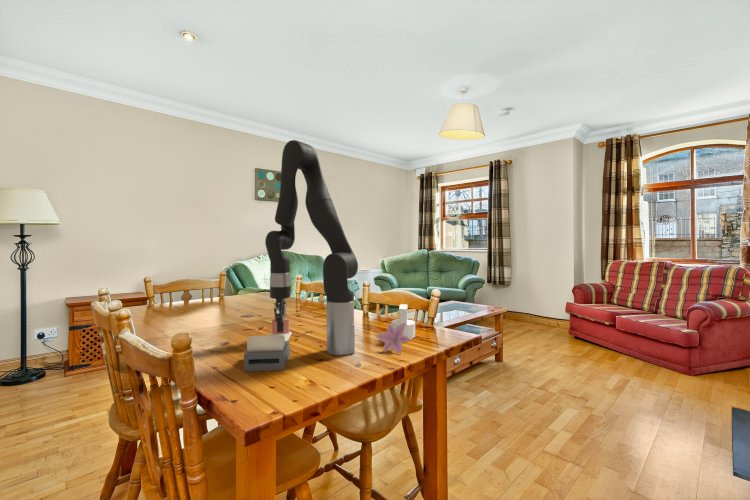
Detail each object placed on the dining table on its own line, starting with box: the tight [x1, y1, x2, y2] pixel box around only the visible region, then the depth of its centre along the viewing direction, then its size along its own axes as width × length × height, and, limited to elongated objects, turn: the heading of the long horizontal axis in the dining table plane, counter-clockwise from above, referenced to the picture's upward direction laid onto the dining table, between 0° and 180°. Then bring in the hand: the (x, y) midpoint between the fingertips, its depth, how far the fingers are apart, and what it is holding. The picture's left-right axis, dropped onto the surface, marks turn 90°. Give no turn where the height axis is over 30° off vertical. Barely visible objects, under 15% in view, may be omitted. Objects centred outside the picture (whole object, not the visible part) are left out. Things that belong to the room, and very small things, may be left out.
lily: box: [375, 323, 412, 354], centre depth 120 cm, size 11×11×9 cm
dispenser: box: [243, 334, 291, 372], centre depth 108 cm, size 11×14×9 cm
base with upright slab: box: [391, 303, 416, 339], centre depth 135 cm, size 9×9×12 cm
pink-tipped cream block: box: [268, 318, 293, 341], centre depth 122 cm, size 8×20×6 cm, turn 6°
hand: (280, 331), depth 131 cm, fingers closed on pink-tipped cream block, 2 cm apart
